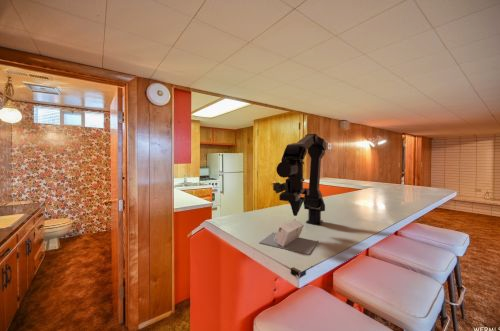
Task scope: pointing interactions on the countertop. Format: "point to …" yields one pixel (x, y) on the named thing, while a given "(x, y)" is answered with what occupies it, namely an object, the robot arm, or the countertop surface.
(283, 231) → the skincare box
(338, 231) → the countertop surface
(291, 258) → the countertop surface
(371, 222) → the countertop surface
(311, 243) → the mat
